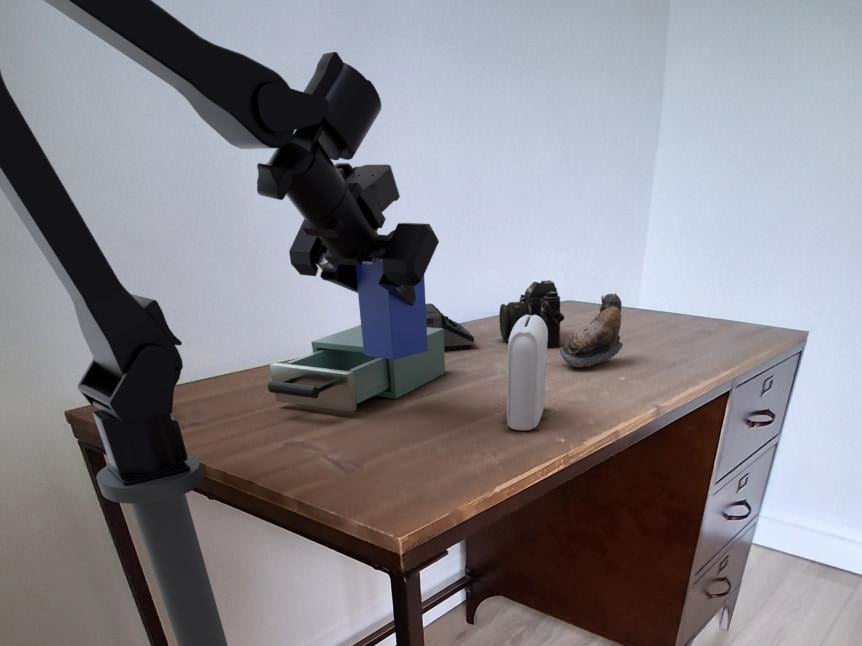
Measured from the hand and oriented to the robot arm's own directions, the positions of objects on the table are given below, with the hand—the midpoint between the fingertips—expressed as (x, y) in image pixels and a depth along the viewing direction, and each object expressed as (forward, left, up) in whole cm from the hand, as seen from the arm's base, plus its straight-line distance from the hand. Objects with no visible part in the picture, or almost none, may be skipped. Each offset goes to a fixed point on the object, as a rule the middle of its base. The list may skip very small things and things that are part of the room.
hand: (396, 300), depth 84 cm
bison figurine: (+37, +1, -14) cm, 40 cm away
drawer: (-6, +8, -12) cm, 16 cm away
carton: (-1, 0, -6) cm, 6 cm away
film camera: (+42, +21, -14) cm, 49 cm away
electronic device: (+25, +31, -14) cm, 42 cm away
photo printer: (+9, -14, -14) cm, 22 cm away
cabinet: (+6, +14, -13) cm, 20 cm away
